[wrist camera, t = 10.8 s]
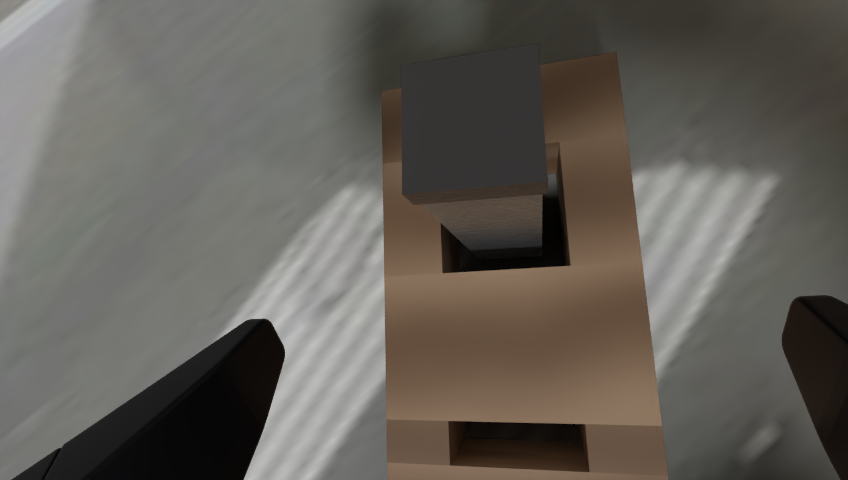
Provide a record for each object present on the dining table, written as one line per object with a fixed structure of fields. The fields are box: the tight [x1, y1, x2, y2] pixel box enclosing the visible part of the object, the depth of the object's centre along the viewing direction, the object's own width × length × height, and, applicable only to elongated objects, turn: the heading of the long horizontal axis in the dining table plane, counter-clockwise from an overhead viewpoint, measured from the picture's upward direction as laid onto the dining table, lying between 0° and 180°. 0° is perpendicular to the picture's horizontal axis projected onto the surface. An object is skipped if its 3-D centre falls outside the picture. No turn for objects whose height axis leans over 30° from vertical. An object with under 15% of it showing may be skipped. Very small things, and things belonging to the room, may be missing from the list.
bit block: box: [382, 52, 669, 480], centre depth 19 cm, size 20×10×4 cm, turn 2°
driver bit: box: [401, 43, 548, 259], centre depth 16 cm, size 3×3×12 cm
